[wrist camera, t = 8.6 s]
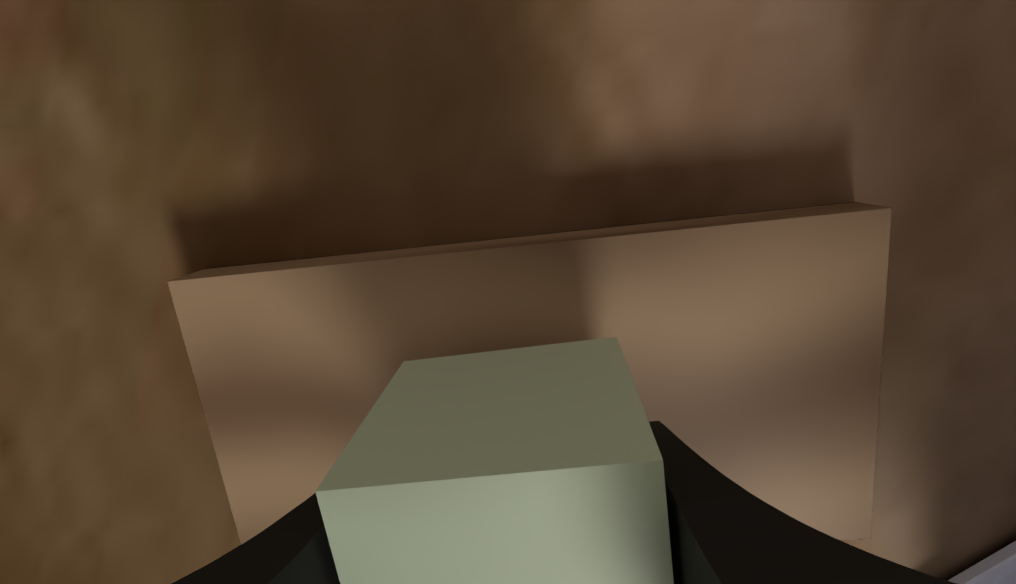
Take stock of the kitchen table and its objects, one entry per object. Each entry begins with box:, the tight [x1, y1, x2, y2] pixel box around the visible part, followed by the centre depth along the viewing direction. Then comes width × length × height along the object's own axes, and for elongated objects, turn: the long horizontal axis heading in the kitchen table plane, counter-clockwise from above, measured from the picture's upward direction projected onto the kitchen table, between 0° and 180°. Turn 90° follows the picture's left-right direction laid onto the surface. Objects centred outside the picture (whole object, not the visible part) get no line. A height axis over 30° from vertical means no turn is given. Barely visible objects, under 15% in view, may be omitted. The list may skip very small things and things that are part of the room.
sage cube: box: [315, 337, 674, 584], centre depth 11 cm, size 5×5×5 cm
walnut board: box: [168, 202, 892, 545], centre depth 15 cm, size 9×18×2 cm, turn 97°
